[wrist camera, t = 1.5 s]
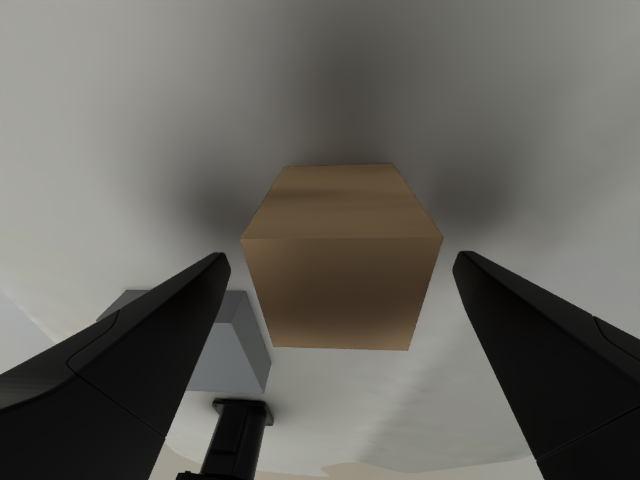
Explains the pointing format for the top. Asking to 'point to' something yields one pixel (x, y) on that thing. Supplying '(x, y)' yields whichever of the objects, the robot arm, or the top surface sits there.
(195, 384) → the slate slab
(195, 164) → the top surface
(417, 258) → the teak block
